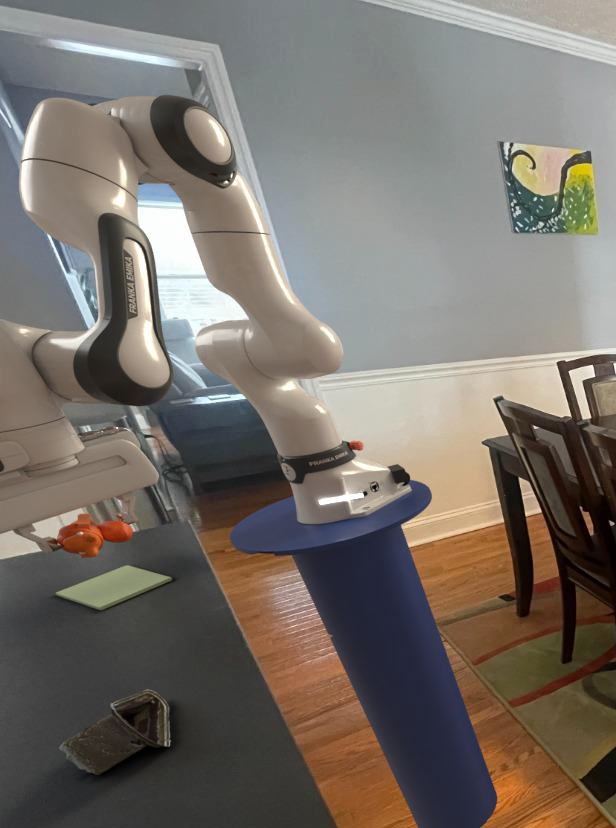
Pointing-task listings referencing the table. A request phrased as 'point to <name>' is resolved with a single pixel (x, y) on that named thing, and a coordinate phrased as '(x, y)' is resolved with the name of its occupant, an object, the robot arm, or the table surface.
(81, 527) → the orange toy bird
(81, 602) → the place mat
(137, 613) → the table surface
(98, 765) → the brown hollow wedge shell
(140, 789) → the table surface
